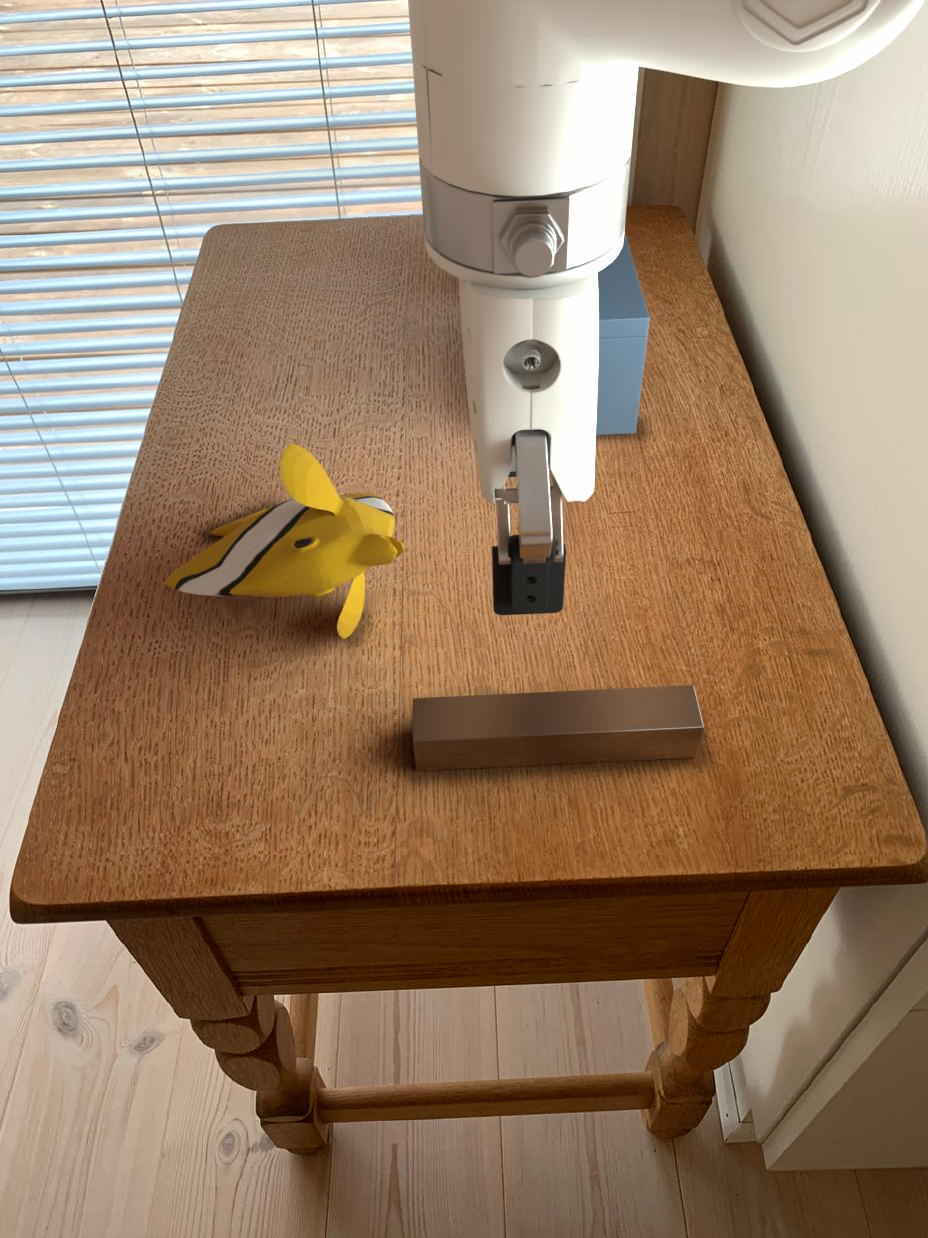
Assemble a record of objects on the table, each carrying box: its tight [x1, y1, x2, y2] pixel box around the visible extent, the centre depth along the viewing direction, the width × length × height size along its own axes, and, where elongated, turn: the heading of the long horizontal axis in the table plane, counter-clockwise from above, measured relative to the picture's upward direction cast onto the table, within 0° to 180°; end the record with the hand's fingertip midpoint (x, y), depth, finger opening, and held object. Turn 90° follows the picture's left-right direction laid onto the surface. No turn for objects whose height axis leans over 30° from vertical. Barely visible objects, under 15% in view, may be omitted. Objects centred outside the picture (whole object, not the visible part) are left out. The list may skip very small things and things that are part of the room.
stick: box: [412, 684, 705, 772], centre depth 56 cm, size 16×3×3 cm, turn 92°
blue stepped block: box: [596, 231, 651, 436], centre depth 78 cm, size 10×20×12 cm, turn 2°
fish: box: [164, 443, 405, 640], centre depth 62 cm, size 20×12×15 cm
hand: (521, 536), depth 49 cm, fingers open, 9 cm apart
